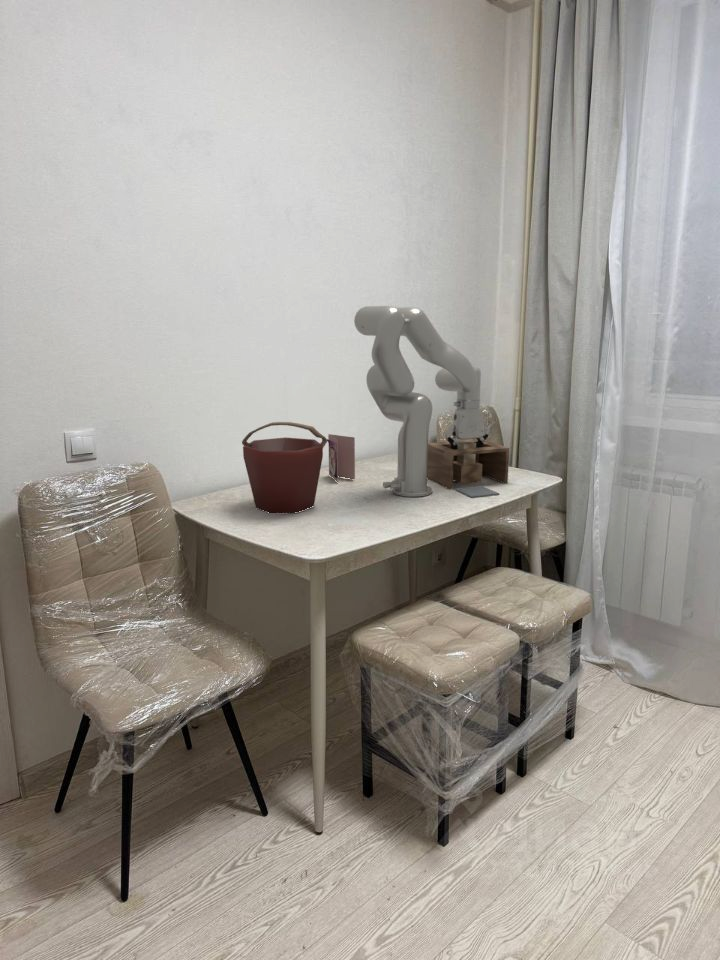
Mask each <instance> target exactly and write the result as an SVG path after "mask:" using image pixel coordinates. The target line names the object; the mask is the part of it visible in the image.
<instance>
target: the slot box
mask: <svg viewBox="0 0 720 960" xmlns="http://www.w3.org/2000/svg"><path fill="white" fill-rule="evenodd" d="M465 441H470V442H473V443H476V442H477V441H478V440H477V439H472V440H462V441H458V442H465ZM458 442H457V444H456V445H458ZM480 453H482V454H480ZM468 454H476V456H475V464H467V465H463V464H460V463H458V462H457V457H454V456H457V455H468ZM509 463H510V447H507V446H505V445H501V444H498V443H495V442H491V441H488V440H485V442H484V443H483V447H480V448H468V449H455V450H453V449H451V444H450V443H449V442H448V441H440V442H439V441H438V442H428V476H427V478H428V479H427V480H430V481H432V482H434V483H436V484H438V485H440V486H442V485H443V486H442V487H444V488H446V487H447V489H448V488H449V490H453V486H454V483H453V481H454V482H456V483H459V484H460V483H461V484H460V485H463V484H462V483H464V484H472V482H474V483H482V481H483V476H485V475H486V477H488V478H490V477H491V479H493V478H494V479H493V480H495V479H496V481H498V480H499V482H500V481H502V482H501V483H503V482H504V483H503V484H508V482H509V481H508V480H509Z"/></svg>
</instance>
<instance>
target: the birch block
mask: <svg viewBox="0 0 720 960" xmlns="http://www.w3.org/2000/svg"><path fill="white" fill-rule="evenodd" d="M457 446H458V449H468V448H476V443H473V442H470V441H465V442H458V445H457ZM475 456H476V454H468V455H457V462H458V463H460V464H463V465H467V464H475Z"/></svg>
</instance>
